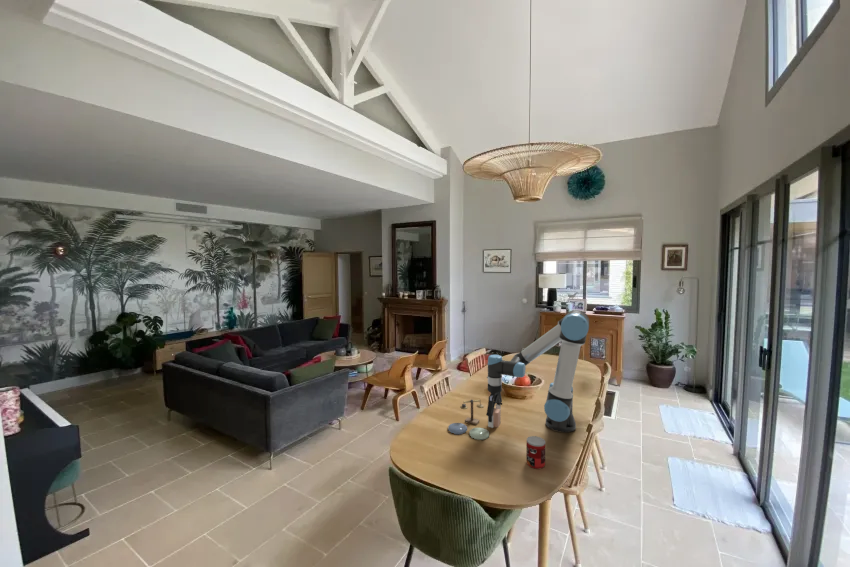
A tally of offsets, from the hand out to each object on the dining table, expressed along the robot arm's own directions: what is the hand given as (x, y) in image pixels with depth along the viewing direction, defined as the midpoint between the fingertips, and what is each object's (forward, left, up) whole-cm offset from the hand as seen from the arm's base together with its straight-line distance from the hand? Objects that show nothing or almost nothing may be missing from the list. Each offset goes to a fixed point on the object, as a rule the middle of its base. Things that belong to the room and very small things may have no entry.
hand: (494, 421), depth 192 cm
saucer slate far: (+16, +14, -2) cm, 21 cm away
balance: (+12, +3, -2) cm, 12 cm away
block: (0, 0, -2) cm, 2 cm away
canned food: (-27, +27, -2) cm, 38 cm away
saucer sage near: (+4, +14, -2) cm, 15 cm away
